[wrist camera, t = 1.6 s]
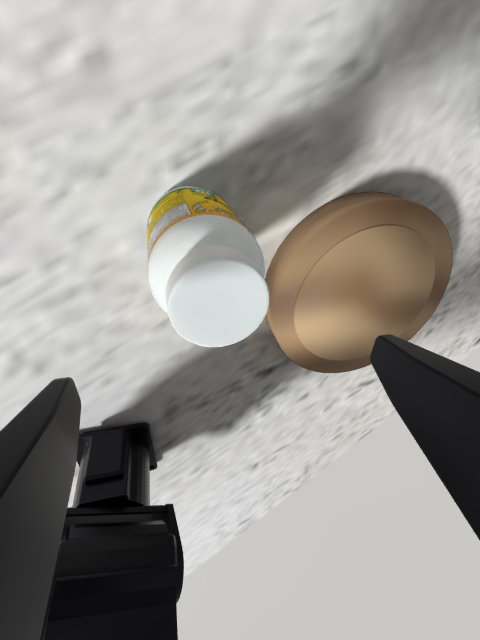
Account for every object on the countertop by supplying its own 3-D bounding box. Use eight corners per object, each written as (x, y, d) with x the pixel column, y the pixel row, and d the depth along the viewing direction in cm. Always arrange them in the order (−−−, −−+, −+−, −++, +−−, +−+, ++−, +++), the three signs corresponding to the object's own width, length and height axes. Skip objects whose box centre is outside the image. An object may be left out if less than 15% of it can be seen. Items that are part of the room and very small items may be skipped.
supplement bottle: (127, 224, 19) (113, 305, 11) (196, 163, 18) (233, 204, 10) (188, 284, 22) (210, 380, 14) (249, 234, 21) (309, 307, 13)
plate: (397, 344, 30) (416, 361, 28) (257, 364, 28) (266, 385, 25) (455, 189, 23) (487, 197, 21) (270, 194, 20) (284, 204, 18)
